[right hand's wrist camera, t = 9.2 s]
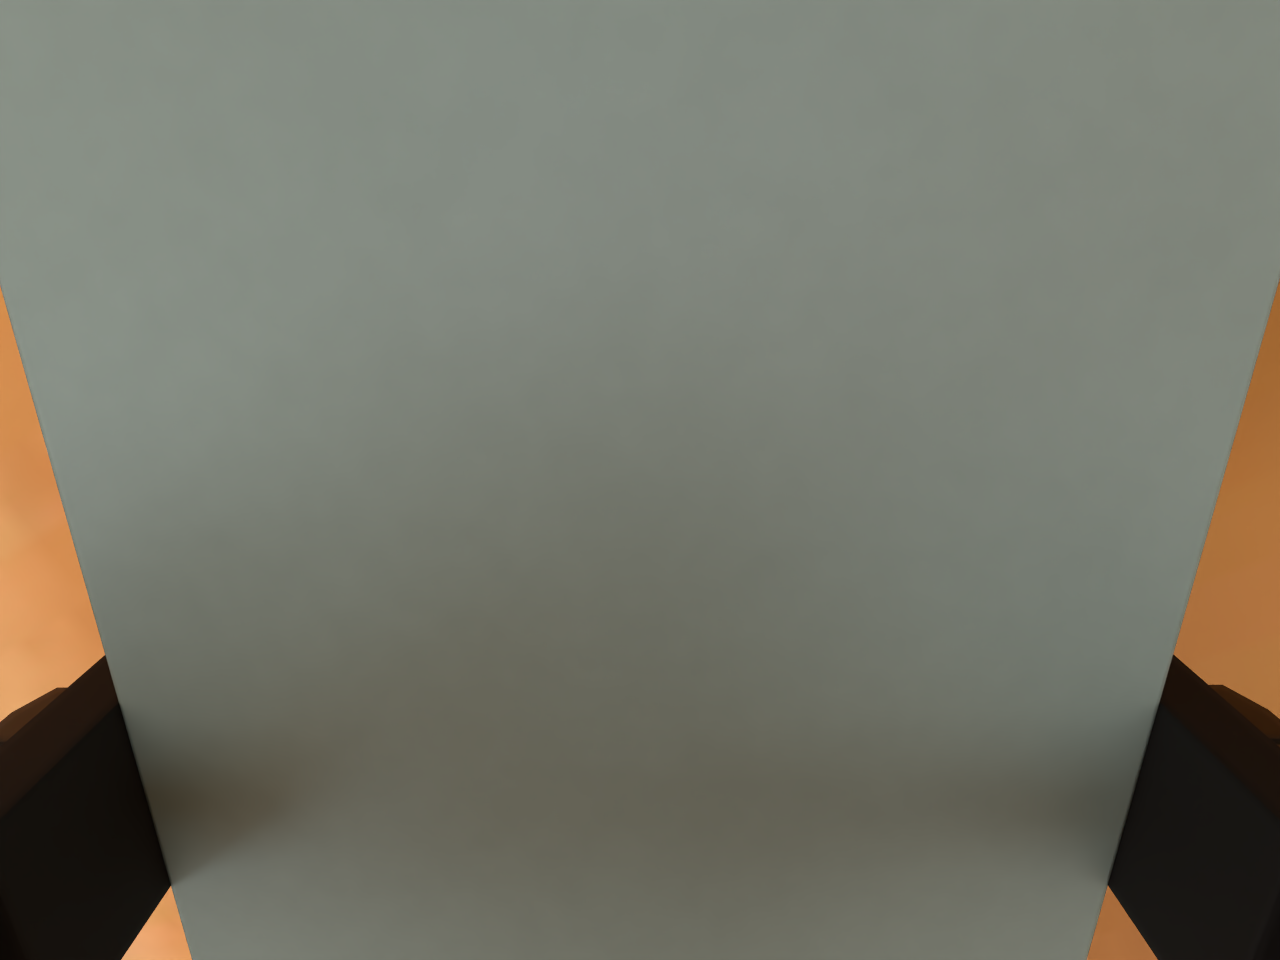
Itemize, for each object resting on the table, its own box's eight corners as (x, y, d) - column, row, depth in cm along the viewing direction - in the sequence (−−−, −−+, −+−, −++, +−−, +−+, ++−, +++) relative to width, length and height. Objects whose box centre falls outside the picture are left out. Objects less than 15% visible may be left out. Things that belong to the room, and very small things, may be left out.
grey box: (362, 72, 16) (-125, -136, 6) (916, 72, 16) (1403, -136, 6) (425, 625, 21) (214, 1050, 10) (854, 624, 21) (1063, 1050, 10)
